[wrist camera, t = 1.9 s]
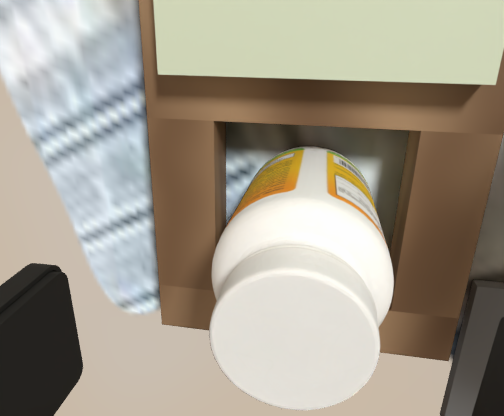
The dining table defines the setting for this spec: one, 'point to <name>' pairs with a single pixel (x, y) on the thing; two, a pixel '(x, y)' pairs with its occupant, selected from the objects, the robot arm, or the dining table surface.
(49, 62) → the dining table surface
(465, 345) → the pad
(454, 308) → the well board
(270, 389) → the supplement bottle
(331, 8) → the slide cover
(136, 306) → the dining table surface
